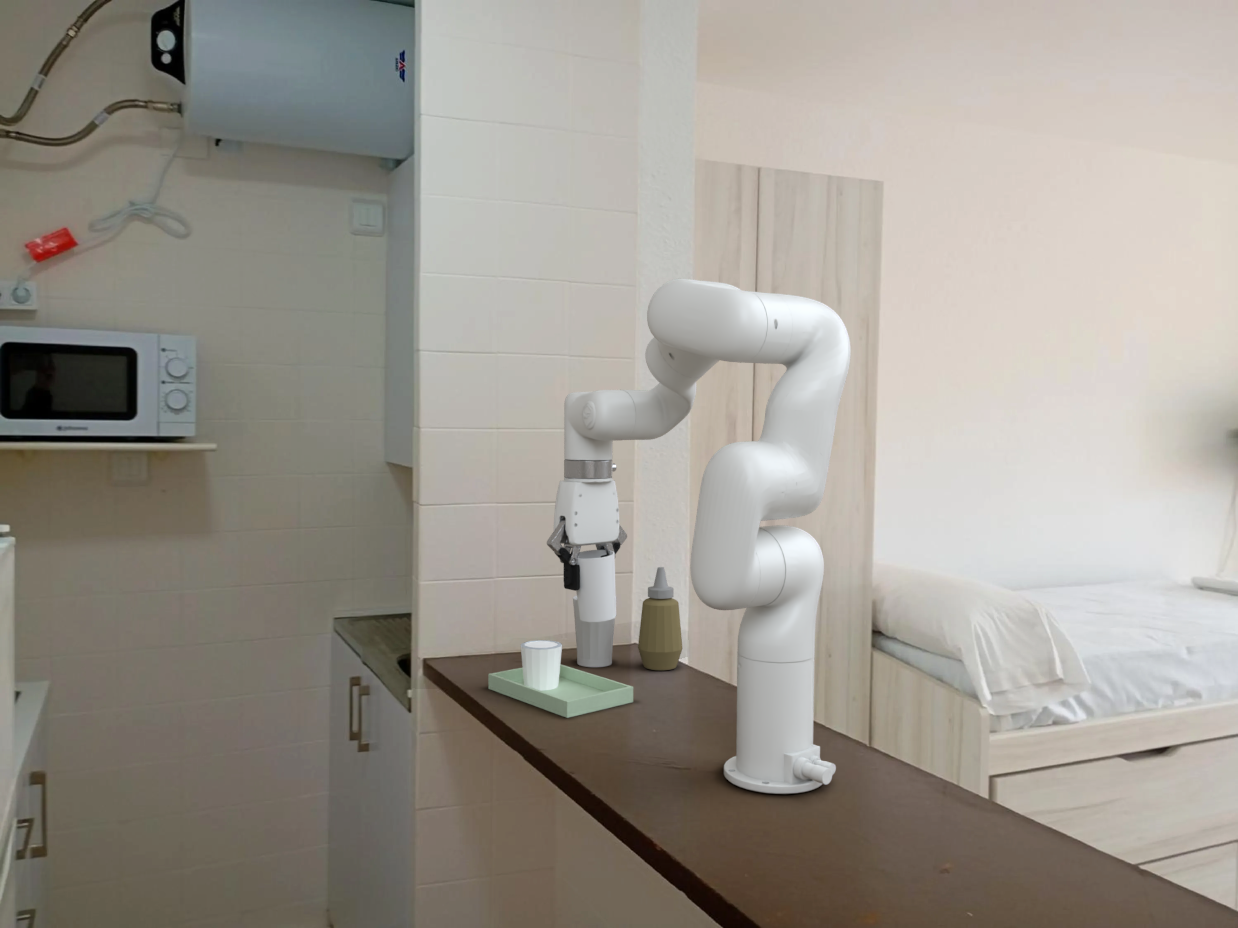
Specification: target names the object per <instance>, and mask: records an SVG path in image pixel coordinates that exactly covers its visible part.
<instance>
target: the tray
mask: <svg viewBox="0 0 1238 928" xmlns="http://www.w3.org/2000/svg"><path fill="white" fill-rule="evenodd" d="M487 676H488V678H487V680H488V682H487V683H488V690H490V691H493V692H495V693H498V694H501V695H504V696H507V697H510V698H513V699H515V700H517V701H520V702H523V703H526V704H528V705H531V706H534V707H537V708H539V709H542V710H545V711H547V712H550V713H553V714H555V715H557V716H560V717H563V718H567V719H569V718H573V717H577V716H582V715H586V714H590V713H593V712H598V711H603V710H607V709H610V708H614V707H619V706H623V705H627V704H631V703H634V686H633V685H629V684H625V683H622V682H619V681H616V680H614V679H609V678H606V677H603V676H601V675H597V674H593V673H590V672H587V671H584V670H581V669H577V668H574V667H572V666H568V665H564V664H561V663H560V674H559V684H558V687H557V688H555V689H552V690H543V691H540V690H537V689H534V688H531V687H529V686H526V685H524V678H523V667H518V668H513V669H507V670H502V671H497V672H492V673H488V674H487Z"/></svg>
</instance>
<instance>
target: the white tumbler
mask: <svg viewBox="0 0 1238 928" xmlns="http://www.w3.org/2000/svg"><path fill="white" fill-rule="evenodd" d="M602 555H607V554H606V550H597V549H592V550H591V549H589V550H584V551H583V550H582V551H580V552H579V556H578V559H577V563H576V564H578V565H579V566H580V589H579V590H577V591H575V593H576V596H577V601H578V609H579V617H580V620H582V621H586V622H601V621H607V620H611V619H613V618H615V619H616V617H617V601H616V597H617V590H616V589H617V588H616V587H617V586H616V554H615V553H614V552H613V551H610V555H609V556H606V557H601V556H602Z"/></svg>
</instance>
